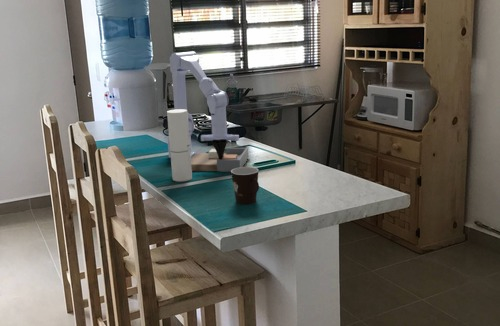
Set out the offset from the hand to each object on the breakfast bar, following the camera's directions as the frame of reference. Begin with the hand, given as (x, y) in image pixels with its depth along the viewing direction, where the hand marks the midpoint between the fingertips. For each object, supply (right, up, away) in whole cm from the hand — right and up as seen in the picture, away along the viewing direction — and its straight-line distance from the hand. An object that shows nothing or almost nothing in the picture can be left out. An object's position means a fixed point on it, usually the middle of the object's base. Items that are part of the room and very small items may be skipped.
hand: (221, 158), depth 207 cm
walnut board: (-6, -2, +6) cm, 9 cm away
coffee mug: (+10, -14, -38) cm, 42 cm away
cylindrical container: (-14, -7, -11) cm, 19 cm away
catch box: (+4, -2, +4) cm, 6 cm away
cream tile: (-2, +1, +7) cm, 8 cm away
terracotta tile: (+4, -1, 0) cm, 4 cm away
